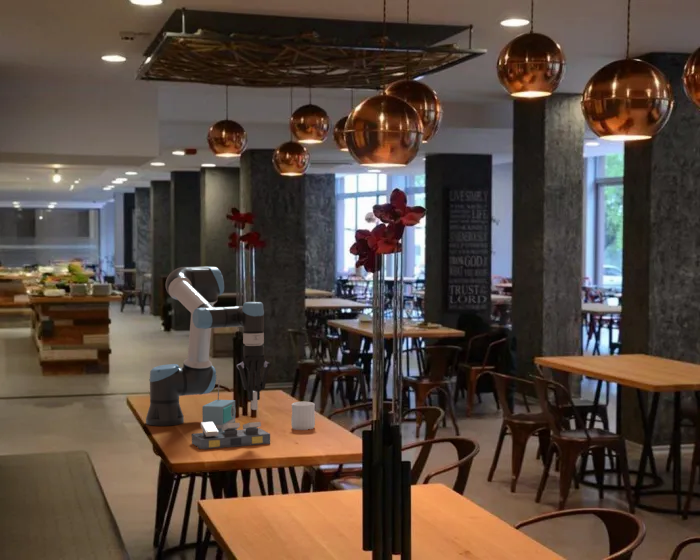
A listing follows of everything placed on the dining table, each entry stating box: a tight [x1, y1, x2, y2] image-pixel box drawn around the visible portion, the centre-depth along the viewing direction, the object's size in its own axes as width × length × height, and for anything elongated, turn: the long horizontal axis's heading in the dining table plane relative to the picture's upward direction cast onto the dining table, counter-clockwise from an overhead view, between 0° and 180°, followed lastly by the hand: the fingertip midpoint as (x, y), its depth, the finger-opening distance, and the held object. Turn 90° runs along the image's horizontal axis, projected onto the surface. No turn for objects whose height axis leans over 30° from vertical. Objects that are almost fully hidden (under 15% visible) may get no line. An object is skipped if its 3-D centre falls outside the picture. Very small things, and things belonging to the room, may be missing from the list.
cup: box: [291, 401, 316, 431], centre depth 397 cm, size 10×10×10 cm
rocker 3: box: [242, 421, 262, 430], centre depth 370 cm, size 8×4×2 cm, turn 24°
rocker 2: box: [222, 421, 241, 432], centre depth 367 cm, size 8×4×2 cm, turn 24°
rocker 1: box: [200, 421, 219, 437], centre depth 364 cm, size 8×4×2 cm, turn 24°
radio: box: [201, 379, 237, 432], centre depth 386 cm, size 16×9×20 cm, turn 169°
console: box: [191, 427, 271, 450], centre depth 367 cm, size 12×26×5 cm, turn 114°
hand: (254, 409), depth 366 cm, fingers closed
